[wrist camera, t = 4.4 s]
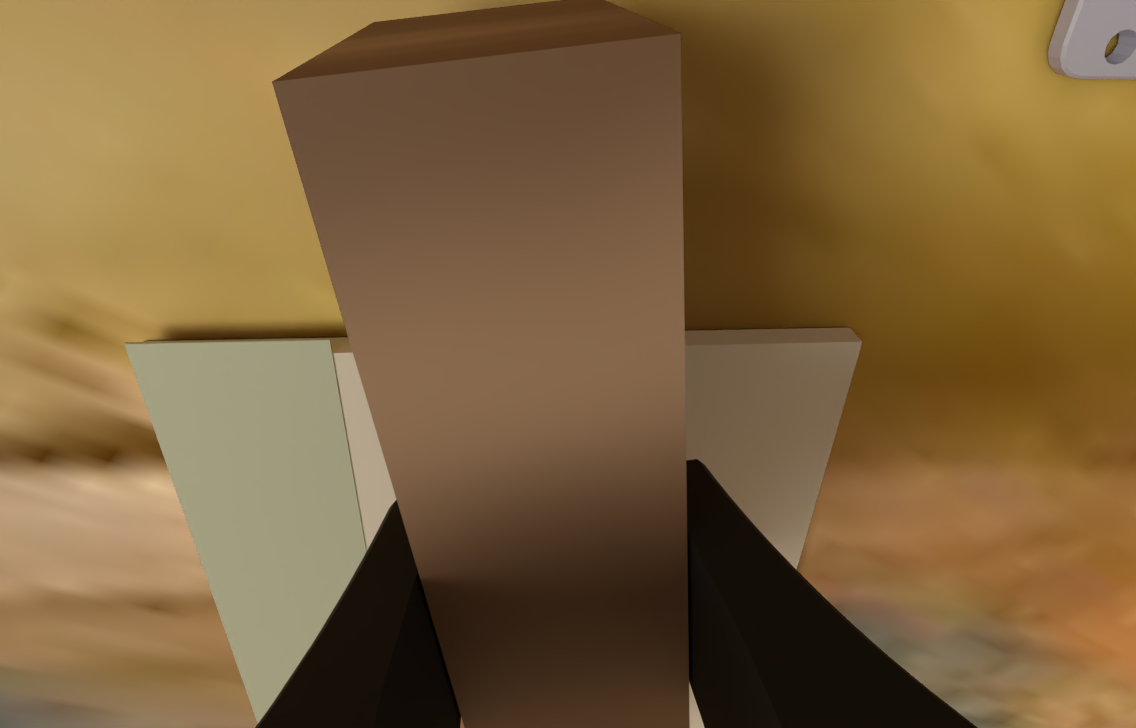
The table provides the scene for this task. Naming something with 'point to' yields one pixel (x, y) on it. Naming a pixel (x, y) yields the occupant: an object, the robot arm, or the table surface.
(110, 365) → the table surface
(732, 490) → the board
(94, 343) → the table surface
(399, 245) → the bar
